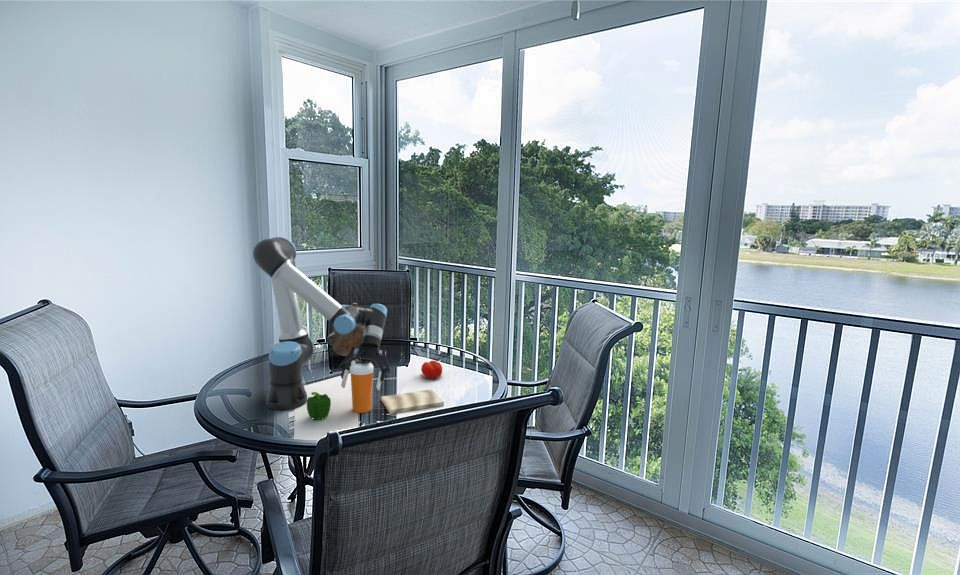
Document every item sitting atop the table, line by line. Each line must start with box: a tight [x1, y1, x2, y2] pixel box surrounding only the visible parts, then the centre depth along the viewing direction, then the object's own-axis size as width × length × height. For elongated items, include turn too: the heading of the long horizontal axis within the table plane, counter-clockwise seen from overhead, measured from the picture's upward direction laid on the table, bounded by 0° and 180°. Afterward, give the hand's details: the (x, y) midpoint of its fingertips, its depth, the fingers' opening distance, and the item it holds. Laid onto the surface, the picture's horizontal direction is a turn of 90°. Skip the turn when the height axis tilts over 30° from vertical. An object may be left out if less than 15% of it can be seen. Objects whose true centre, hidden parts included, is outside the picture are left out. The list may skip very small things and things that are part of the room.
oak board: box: [380, 389, 445, 415], centre depth 190 cm, size 22×14×2 cm, turn 116°
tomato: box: [420, 360, 443, 379], centre depth 220 cm, size 10×11×6 cm
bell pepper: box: [306, 391, 332, 420], centre depth 173 cm, size 8×8×10 cm
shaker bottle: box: [349, 358, 375, 414], centre depth 180 cm, size 9×9×20 cm
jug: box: [326, 302, 365, 360], centre depth 238 cm, size 24×21×30 cm
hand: (360, 387), depth 178 cm, fingers open, 13 cm apart
